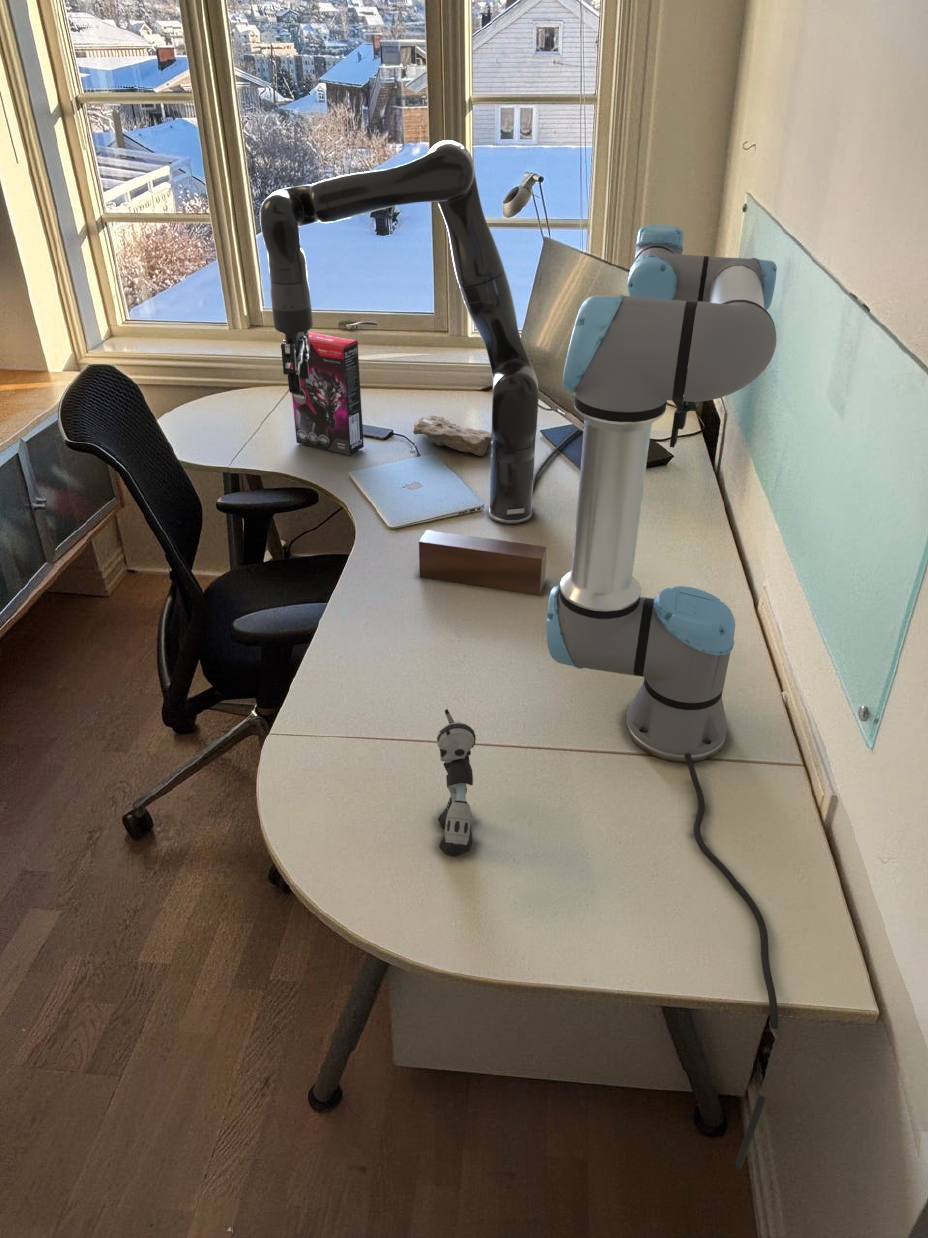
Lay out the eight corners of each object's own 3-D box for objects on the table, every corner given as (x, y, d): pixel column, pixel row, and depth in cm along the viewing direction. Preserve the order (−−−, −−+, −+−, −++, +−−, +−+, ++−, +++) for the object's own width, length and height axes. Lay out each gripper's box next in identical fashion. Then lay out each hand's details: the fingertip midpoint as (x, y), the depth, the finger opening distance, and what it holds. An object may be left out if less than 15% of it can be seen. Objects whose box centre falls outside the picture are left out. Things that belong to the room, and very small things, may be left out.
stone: (397, 439, 228) (402, 416, 226) (416, 430, 242) (421, 408, 239) (477, 464, 225) (483, 440, 222) (491, 454, 238) (497, 431, 236)
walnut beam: (539, 595, 175) (542, 559, 171) (419, 577, 181) (418, 541, 176) (544, 582, 179) (547, 546, 175) (427, 564, 185) (426, 529, 180)
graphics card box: (294, 443, 234) (283, 336, 218) (310, 434, 239) (300, 328, 224) (350, 457, 227) (343, 347, 212) (366, 447, 232) (360, 339, 217)
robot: (478, 890, 117) (481, 774, 106) (439, 891, 117) (438, 775, 106) (469, 781, 133) (471, 671, 122) (436, 782, 133) (434, 671, 122)
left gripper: (303, 314, 173) (311, 398, 182) (317, 294, 184) (324, 373, 193) (263, 313, 173) (273, 397, 182) (280, 293, 185) (289, 373, 194)
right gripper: (727, 325, 157) (708, 441, 169) (586, 308, 165) (577, 421, 177) (720, 337, 151) (700, 457, 163) (574, 320, 159) (565, 435, 171)
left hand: (299, 385), depth 188 cm, fingers open, 8 cm apart
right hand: (636, 438), depth 170 cm, fingers open, 13 cm apart
